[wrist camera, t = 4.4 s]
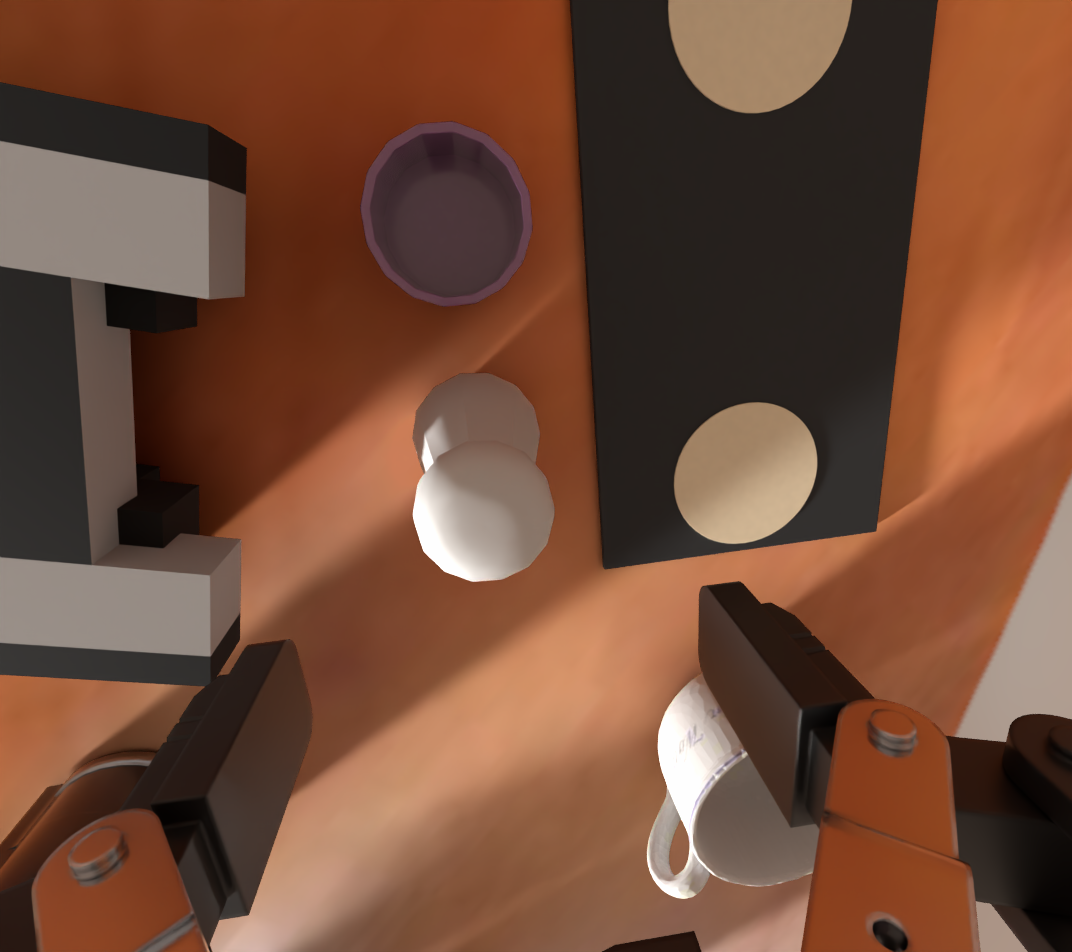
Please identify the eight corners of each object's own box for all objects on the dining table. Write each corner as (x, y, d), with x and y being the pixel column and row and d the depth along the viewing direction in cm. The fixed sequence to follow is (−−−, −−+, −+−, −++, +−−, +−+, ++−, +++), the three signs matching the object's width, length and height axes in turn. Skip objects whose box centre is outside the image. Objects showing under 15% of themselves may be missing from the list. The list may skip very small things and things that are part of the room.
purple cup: (392, 308, 27) (378, 313, 22) (366, 154, 25) (346, 128, 20) (527, 294, 27) (538, 297, 23) (513, 143, 25) (522, 115, 21)
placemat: (602, 566, 32) (604, 570, 32) (562, -121, 22) (564, -129, 22) (872, 528, 34) (877, 532, 33) (947, -137, 24) (956, -145, 23)
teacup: (759, 601, 34) (842, 692, 27) (833, 714, 38) (925, 822, 30) (568, 727, 36) (596, 847, 28) (657, 824, 39) (703, 953, 32)
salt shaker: (487, 498, 30) (503, 648, 18) (393, 435, 29) (341, 553, 16) (556, 410, 29) (623, 506, 17) (463, 340, 27) (464, 388, 15)
